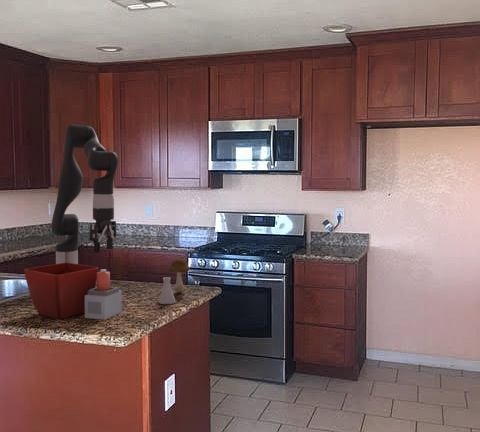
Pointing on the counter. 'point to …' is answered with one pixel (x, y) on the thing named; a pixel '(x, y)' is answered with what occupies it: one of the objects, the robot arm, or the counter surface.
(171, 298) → the flask
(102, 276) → the pink cylinder white tip
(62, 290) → the plant pot
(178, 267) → the mushroom
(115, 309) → the grey box device
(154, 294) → the counter surface
